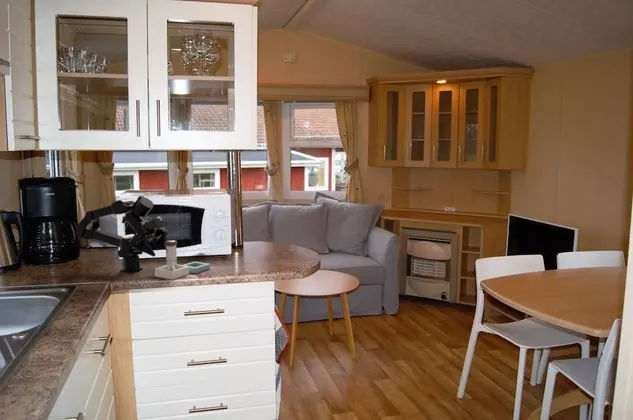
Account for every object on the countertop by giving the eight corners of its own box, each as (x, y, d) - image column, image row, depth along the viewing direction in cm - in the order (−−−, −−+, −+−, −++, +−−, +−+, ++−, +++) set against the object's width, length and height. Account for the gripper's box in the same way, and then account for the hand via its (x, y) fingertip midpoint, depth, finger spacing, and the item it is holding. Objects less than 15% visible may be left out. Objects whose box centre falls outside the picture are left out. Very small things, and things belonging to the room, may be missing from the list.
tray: (154, 276, 203) (154, 268, 203) (172, 270, 211) (172, 263, 211) (172, 279, 198) (171, 271, 198) (189, 273, 207) (189, 266, 206)
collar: (180, 270, 212) (180, 265, 211) (194, 266, 219) (194, 261, 219) (195, 273, 208) (195, 268, 207) (210, 268, 215) (210, 263, 215)
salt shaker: (164, 273, 205) (162, 241, 203) (175, 271, 208) (174, 239, 206) (168, 275, 201) (167, 243, 200) (180, 273, 204) (178, 241, 203)
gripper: (133, 214, 196) (158, 245, 194) (164, 208, 213) (187, 236, 211) (117, 233, 200) (142, 263, 198) (149, 225, 217) (172, 253, 215)
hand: (162, 253), depth 205 cm, fingers open, 9 cm apart
